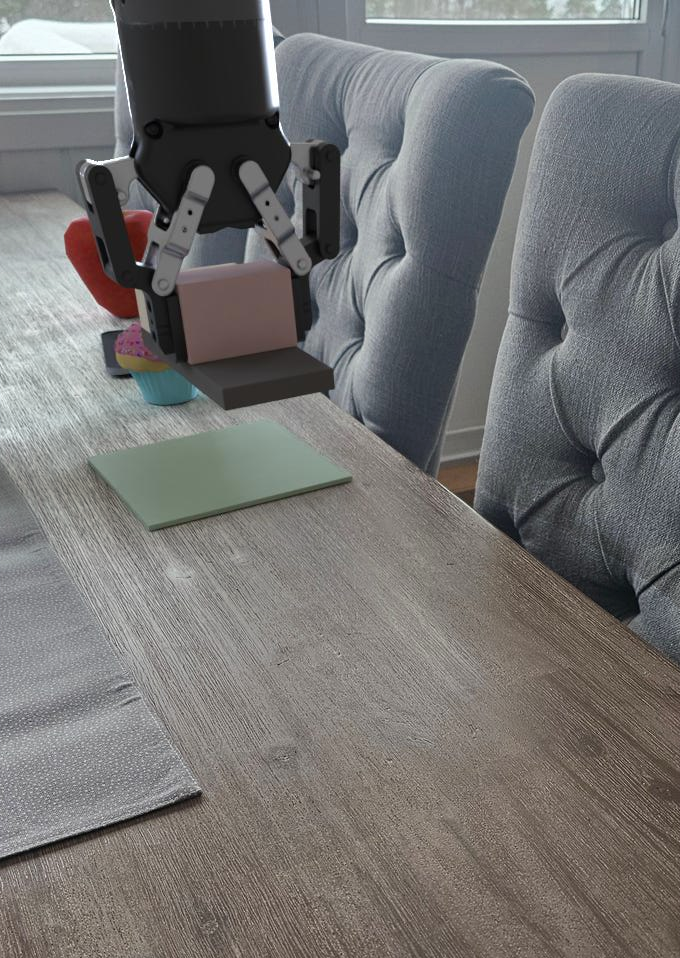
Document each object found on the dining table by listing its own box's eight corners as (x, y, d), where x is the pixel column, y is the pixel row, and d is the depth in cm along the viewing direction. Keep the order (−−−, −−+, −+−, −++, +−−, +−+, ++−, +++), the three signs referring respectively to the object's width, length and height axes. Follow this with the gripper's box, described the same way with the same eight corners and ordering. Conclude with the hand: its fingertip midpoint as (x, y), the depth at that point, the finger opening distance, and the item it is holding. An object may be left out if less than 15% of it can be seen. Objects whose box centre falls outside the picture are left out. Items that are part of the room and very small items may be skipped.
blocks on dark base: (335, 389, 62) (327, 286, 59) (225, 411, 59) (210, 304, 56) (241, 329, 72) (230, 239, 69) (143, 346, 69) (127, 252, 66)
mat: (149, 531, 79) (148, 526, 79) (87, 462, 91) (86, 457, 91) (352, 480, 86) (352, 475, 86) (270, 422, 98) (270, 417, 98)
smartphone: (169, 324, 123) (183, 360, 110) (171, 332, 123) (185, 369, 111) (99, 332, 121) (105, 369, 109) (100, 340, 121) (107, 378, 109)
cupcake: (195, 413, 100) (172, 274, 94) (107, 410, 102) (78, 273, 95) (230, 383, 107) (211, 252, 101) (146, 380, 109) (122, 251, 102)
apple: (159, 297, 137) (141, 190, 130) (192, 315, 129) (174, 203, 122) (68, 312, 131) (44, 202, 125) (97, 332, 124) (73, 216, 117)
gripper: (64, 19, 49) (132, 390, 58) (358, 8, 55) (379, 345, 65) (24, 13, 55) (93, 354, 64) (297, 3, 61) (324, 315, 70)
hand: (236, 348), depth 64 cm, fingers closed on blocks on dark base, 6 cm apart
